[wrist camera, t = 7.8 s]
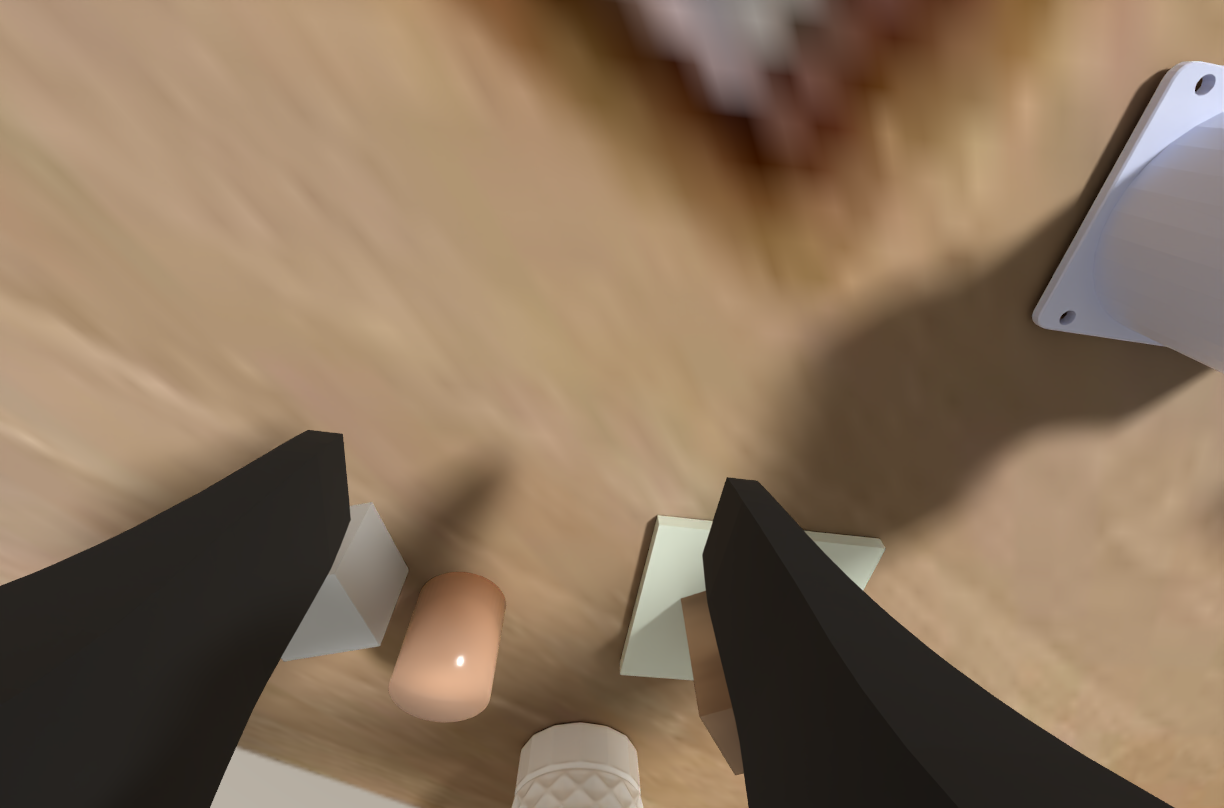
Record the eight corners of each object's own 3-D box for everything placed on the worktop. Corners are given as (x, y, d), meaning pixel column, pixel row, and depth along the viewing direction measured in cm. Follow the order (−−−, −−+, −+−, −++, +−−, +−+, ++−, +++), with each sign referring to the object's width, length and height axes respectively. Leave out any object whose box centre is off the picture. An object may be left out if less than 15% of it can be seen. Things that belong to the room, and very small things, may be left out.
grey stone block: (373, 500, 24) (334, 574, 20) (409, 568, 26) (380, 645, 22) (282, 517, 24) (229, 592, 20) (325, 583, 26) (283, 661, 22)
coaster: (879, 538, 25) (885, 548, 25) (806, 678, 30) (810, 689, 30) (657, 515, 24) (658, 524, 24) (619, 664, 29) (620, 674, 29)
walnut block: (776, 568, 25) (818, 684, 20) (801, 630, 27) (844, 748, 22) (680, 598, 26) (699, 716, 21) (711, 655, 28) (735, 775, 23)
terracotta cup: (508, 576, 26) (493, 665, 22) (503, 634, 28) (488, 725, 24) (418, 567, 25) (386, 657, 22) (419, 627, 27) (390, 719, 23)
